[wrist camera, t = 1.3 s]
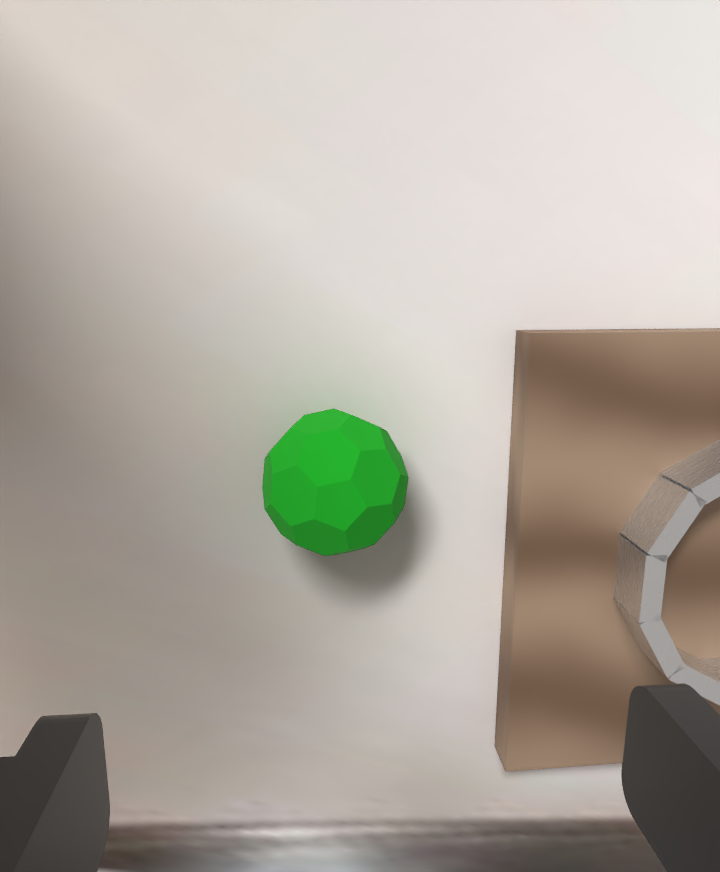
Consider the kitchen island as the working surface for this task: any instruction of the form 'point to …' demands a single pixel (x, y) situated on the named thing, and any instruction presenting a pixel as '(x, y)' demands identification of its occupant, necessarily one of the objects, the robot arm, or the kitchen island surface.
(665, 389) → the walnut board
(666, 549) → the steel ring
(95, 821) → the robot arm
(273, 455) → the polyhedron
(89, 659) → the kitchen island surface
